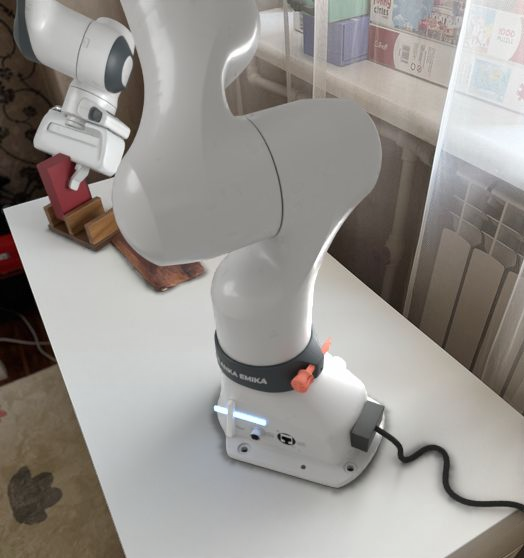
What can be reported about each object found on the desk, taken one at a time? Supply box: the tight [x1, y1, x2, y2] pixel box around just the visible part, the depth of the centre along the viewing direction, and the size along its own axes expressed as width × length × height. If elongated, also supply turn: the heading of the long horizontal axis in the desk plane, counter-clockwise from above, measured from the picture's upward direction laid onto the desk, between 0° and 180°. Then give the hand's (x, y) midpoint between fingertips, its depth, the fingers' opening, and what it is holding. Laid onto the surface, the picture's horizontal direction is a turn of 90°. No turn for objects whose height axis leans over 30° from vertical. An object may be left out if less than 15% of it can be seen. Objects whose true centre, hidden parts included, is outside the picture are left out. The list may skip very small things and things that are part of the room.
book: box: [35, 153, 93, 221], centre depth 102 cm, size 3×7×11 cm, turn 144°
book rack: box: [42, 195, 121, 253], centre depth 104 cm, size 14×9×5 cm, turn 54°
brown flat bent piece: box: [110, 232, 205, 293], centre depth 100 cm, size 26×2×10 cm
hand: (63, 185), depth 101 cm, fingers closed on book, 3 cm apart
